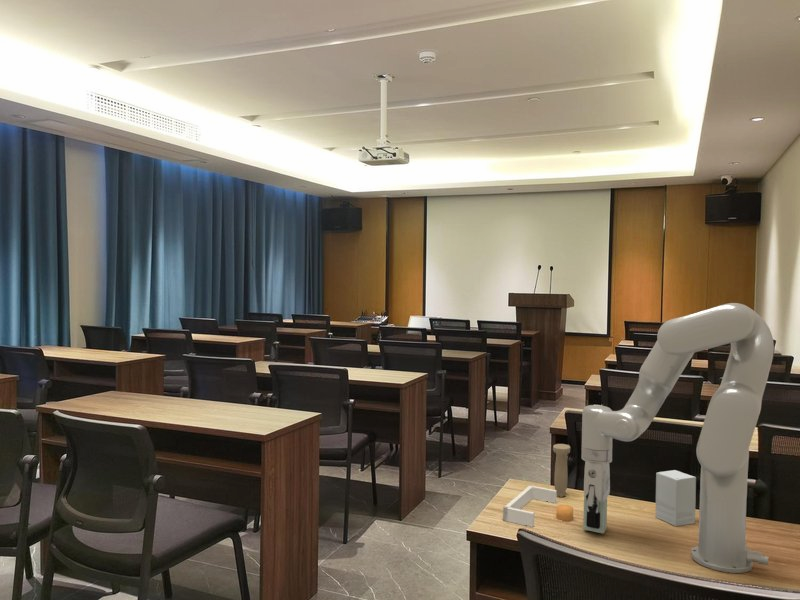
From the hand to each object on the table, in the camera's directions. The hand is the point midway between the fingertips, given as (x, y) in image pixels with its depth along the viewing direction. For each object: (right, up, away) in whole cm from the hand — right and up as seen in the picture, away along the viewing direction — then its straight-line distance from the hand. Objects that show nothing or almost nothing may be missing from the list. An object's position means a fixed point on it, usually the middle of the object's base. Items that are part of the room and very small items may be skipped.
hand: (595, 523), depth 155 cm
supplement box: (+25, -3, +9) cm, 27 cm away
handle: (-2, -2, +27) cm, 27 cm away
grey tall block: (0, -1, 0) cm, 1 cm away
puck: (-5, -2, +9) cm, 11 cm away
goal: (-14, -1, +14) cm, 19 cm away
